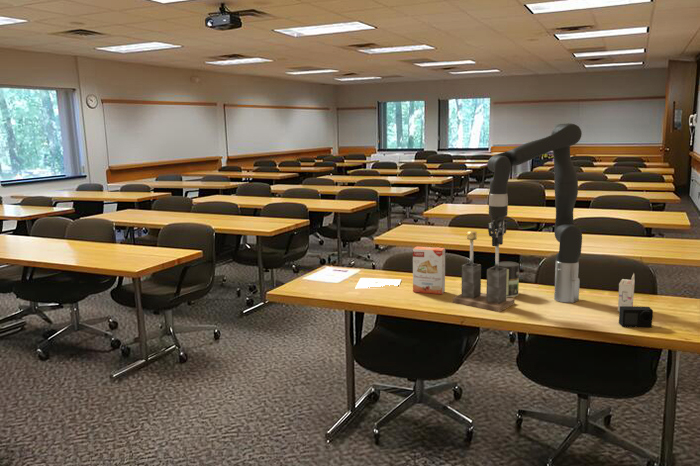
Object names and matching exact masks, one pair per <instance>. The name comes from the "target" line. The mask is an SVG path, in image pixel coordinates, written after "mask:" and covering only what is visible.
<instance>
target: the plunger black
mask: <svg viewBox="0 0 700 466" xmlns="http://www.w3.org/2000/svg"><path fill="white" fill-rule="evenodd" d="M502 237H503V238H504V235H501V234H498V237H497V238H498V246H496V247H495V254H494V255H495V257H494V259H495V260H494V261H495V263H494V267H495V270H497V271H499V262H500V245H499V243H502Z"/></svg>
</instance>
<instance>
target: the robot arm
mask: <svg viewBox="0 0 700 466" xmlns="http://www.w3.org/2000/svg"><path fill="white" fill-rule="evenodd" d="M581 138H582V129H581V128H580V126H579V125H577V124H575V123H570V122H569V123H558V124H556V125H555V126H554V127H553V128H552V130H551V134H550V135H548V136H546V137H545V136H544V137H543V138H539V139H536V140H535V139H534V140H532V141H528V142H526V143H524V144H520V145H518V146H516V147H514V148H513V149H510V150H507V151H506V150H505V151H503V152H500V153H497V154H494V155H493V156H491V157H490V158H489V159H488V161H487V163H486V164H487V168H488V170H489V171H491V172H492V173H493V179H491V180H490V182H489V196H488V216H489V217H491V222H488V223H487V231H488V236H489V237H491V246H492V247H495V248H496V246H498V238H497V237H498V234H501V235H503V237H502V243H499V246H501V245H503V243H504V235H505V234H506V233H507V229H508V228H507V227H508V222H509V219H506V218H505V217H507V216H508V205H509V202H508V201H509V198H508V182H509V179H510V175H511V170H512V167H513V166H520V165H522V164H525V163H527V162H529V161H531V160H533V159H536V158H538V157H540V156H542V155H545V154H547V153H550V152H552V154H553V169H554V170H553V173H554V200H555V203H554V205H555V220H554V221H555V222H554V238H555V239H556V241H557V242H558V243H559V250H558V253H556V255H555V269H554V296H553V297H554V298H553V299H554V300H555V301H557V302H561V303H570V304H571V303H572V304H573V303H576V302H577V301H579V298H580V297H579V296H580V280H581V279H580V278H579V265H580V264H579V263H580V262H579V260H580V257H581V255H582V248H583V247H582V245H583V233H582V230H581V229H580V227H578V226H576V225H575V222H574V209H575V204H576V201H577V198H578V194H579V182H578V181H579V179H578V178H579V177H578V174H577V171H576V168H575V166H574V164H573V161H572V157H571V147H572V146H575V145H576V144H578V143H579V141H580V140H581Z"/></svg>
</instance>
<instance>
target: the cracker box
mask: <svg viewBox="0 0 700 466" xmlns="http://www.w3.org/2000/svg"><path fill="white" fill-rule="evenodd" d="M445 290H446V247H432V246H431V247H429V246H418V245H417V246H415V247H414V248H412V292H414V293H424V294H431V295H432V294H433V295H443V294H444V292H445Z"/></svg>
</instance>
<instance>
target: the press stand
mask: <svg viewBox="0 0 700 466" xmlns="http://www.w3.org/2000/svg"><path fill="white" fill-rule="evenodd" d="M506 280H507V268H500V267H499V271H497V270H495V266H492V267H489V268H487V269H486V293H483V292H481V291H482V290H481V289H482V285H481V284H482V265H481V264H480V263H479V264H478V263H474V262H473V267H471V266H470V262H467V263H465V264H464V263H463V264H461V293H460V294H458V295H456V296H454V297H452V303H455V304H459V305H464V306H470V307H474V308H478V309H484V310H489V311H494V312H497V313H500V312H501V311H503V310H505V309H508V308H509V307H511V306H513V305H515V298H513V297H506Z"/></svg>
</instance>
